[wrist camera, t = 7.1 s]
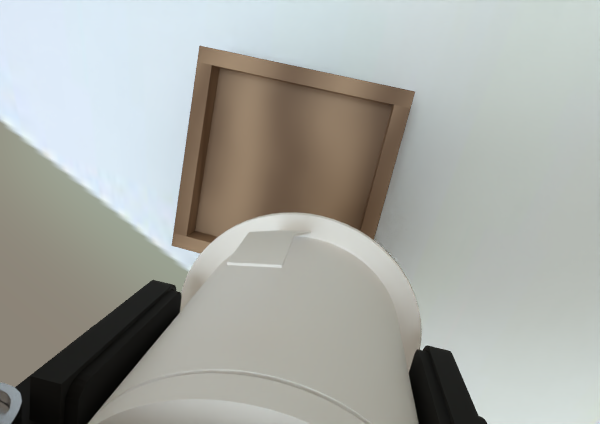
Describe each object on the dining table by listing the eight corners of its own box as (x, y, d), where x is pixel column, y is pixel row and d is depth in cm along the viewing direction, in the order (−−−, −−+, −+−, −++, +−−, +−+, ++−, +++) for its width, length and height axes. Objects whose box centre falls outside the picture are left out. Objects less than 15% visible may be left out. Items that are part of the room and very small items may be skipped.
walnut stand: (405, 96, 29) (415, 91, 24) (358, 267, 33) (358, 295, 28) (227, 58, 31) (199, 45, 25) (201, 226, 34) (171, 245, 29)
